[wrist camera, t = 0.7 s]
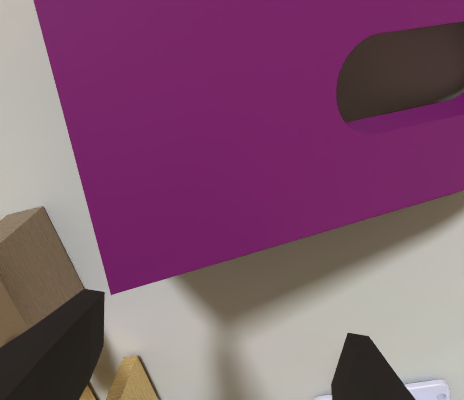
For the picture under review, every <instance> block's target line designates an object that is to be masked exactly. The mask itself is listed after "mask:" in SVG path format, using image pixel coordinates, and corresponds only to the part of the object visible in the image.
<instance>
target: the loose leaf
mask: <svg viewBox="0 0 464 400" xmlns="http://www.w3.org/2000/svg"><path fill="white" fill-rule="evenodd" d="M79 400H96V399H95V397H94V395H93V394H92V392H91V390H90V388H89V386H88V385H87V386H86V388H85V390H84V392H83V393H82V395H81V397H80V399H79ZM106 400H158V398H157V396H156V394H155V392H154V390H153V388H152V386H151V384H150V381H149V379H148V377H147V375H146V373H145V371H144V369H143V367H142V365H141V363H140V361H139V359H138V356H137V355H136V356H130V357H125V358H123V360H122V363H121V365H120V367H119V370H118V372H117V374H116V377H115V379H114V382H113V384H112V386H111V389H110V391H109V394H108V396H107V398H106Z"/></svg>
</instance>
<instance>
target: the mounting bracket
mask: <svg viewBox="0 0 464 400" xmlns="http://www.w3.org/2000/svg"><path fill="white" fill-rule="evenodd" d="M34 4H35V7H36V11H37V15H38V19H39V23H40V26H41V30H42V34H43V38H44V42H45V45H46V49H47V53H48V57H49V61H50V64H51V68H52V72H53V76H54V80H55V83H56V87H57V91H58V95H59V99H60V102H61V106H62V110H63V114H64V118H65V121H66V125H67V129H68V133H69V137H70V141H71V144H72V148H73V152H74V156H75V160H76V163H77V167H78V171H79V175H80V179H81V182H82V186H83V190H84V194H85V198H86V201H87V205H88V209H89V213H90V217H91V220H92V224H93V228H94V232H95V236H96V239H97V243H98V247H99V251H100V255H101V258H102V262H103V266H104V270H105V274H106V277H107V281H108V285H109V289H110V293H111V295H112V294H116V293H119V292H122V291H126V290H129V289H133V288H136V287H139V286H143V285H146V284H149V283H153V282H156V281H160V280H163V279H166V278H170V277H173V276H176V275H180V274H183V273H187V272H190V271H193V270H197V269H200V268H203V267H207V266H210V265H214V264H217V263H220V262H224V261H227V260H230V259H234V258H237V257H241V256H244V255H247V254H251V253H254V252H257V251H261V250H264V249H267V248H271V247H274V246H278V245H281V244H284V243H288V242H291V241H294V240H298V239H301V238H305V237H308V236H311V235H315V234H318V233H321V232H325V231H328V230H332V229H335V228H338V227H342V226H345V225H348V224H352V223H355V222H359V221H362V220H365V219H369V218H372V217H375V216H379V215H382V214H386V213H389V212H392V211H396V210H399V209H402V208H406V207H409V206H413V205H416V204H419V203H423V202H426V201H429V200H433V199H436V198H440V197H443V196H446V195H450V194H453V193H456V192H459V191H462V190H464V93H462V94H461V95H460V96H458V97H456V98H455V99H452V100H449V101H444V102H440V103H435V104H430V105H425V106H421V107H416V108H411V109H407V110H402V111H397V112H392V113H388V114H383V115H378V116H374V117H369V118H364V119H359V120H355V121H350V122H344V120H343V118H342V117H341V114H340V112H339V109H338V105H337V98H336V88H337V81H338V77H339V73H340V70H341V68H342V65H343V63H344V61H345V60H346V58H347V56H348V55H349V53H350V52H351V51H352V50H353V48H354V47H355V46H356V45H358V44H359V43H360V42H361V41H363V40H364V39H366V38H368V37H370V36H372V35H375V34H379V33H386V32H393V31H400V30H407V29H414V28H421V27H428V26H435V25H442V24H449V23H456V22H463V21H464V0H34Z"/></svg>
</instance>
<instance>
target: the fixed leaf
mask: <svg viewBox="0 0 464 400" xmlns="http://www.w3.org/2000/svg"><path fill="white" fill-rule="evenodd" d="M83 289H84V287H83V285H82V283H81V281H80V279H79V277H78V275H77V273H76V271H75V269H74V267H73V265H72V263H71V261H70V259H69V257H68V255H67V253H66V251H65V249H64V247H63V245H62V243H61V241H60V239H59V237H58V235H57V233H56V231H55V229H54V227H53V225H52V223H51V221H50V219H49V217H48V215H47V213H46V211H45V209H44V207H43V206H42V207H38V208H34V209H30V210H27V211H23V212H19V213H15V214H11V215H7V216H6V217H5V218H3V219H2V220H1V221H0V347H2V346H3V345H5V344H7V343H8V342H10V341H11V340H13V339H14V338H16V337H17V336H19V335H21V334H22V333H23V332H25V331H26V330H28V329H29V328H31V327H32V326H34V325H35V324H36V323H38V322H39V321H41V320H42V319H43V318H45V317H46V316H48V315H49V314H50V313H52V312H53V311H55V310H56V309H57V308H59V307H60V306H61V305H63V304H64V303H65V302H67V301H68V300H69V299H71V298H72V297H73V296H75V295H76V294H78V293H79V292H80V291H82V290H83Z"/></svg>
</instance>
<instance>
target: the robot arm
mask: <svg viewBox="0 0 464 400" xmlns="http://www.w3.org/2000/svg"><path fill="white" fill-rule="evenodd" d="M103 343H104V292H100V291H94V290H88V289H83V290H82V291H80V292H79V293H78V294H76V295H75V296H73V297H72V298H71V299H69V300H68V301H67V302H65V303H64V304H63V305H61V306H60V307H59V308H57V309H56V310H55V311H53V312H52V313H50V314H49V315H48V316H46V317H45V318H43V319H42V320H41V321H39V322H38V323H36V324H35V325H34V326H32V327H31V328H29V329H28V330H26V331H25V332H23V333H22V334H21V335H19V336H17V337H16V338H14V339H13V340H11V341H10V342H8V343H7V344H5V345H3V346H2V347H0V400H79V399H80V397H81V395H82V393H83V392H84V390H85V388H86V386H87V384H88V382H89V380H90V378H91V376H92V374H93V371H94V369H95V366H96V364H97V361H98V359H99V356H100V353H101V351H102V348H103ZM331 387H332V395H325V396H318V397H315V398H314V399H313V400H451V398H450V390H449V387H448V385H447V383H446V382H445V381H444V380H432V381H424V382H417V383H410V384H403V382H402V381H401V380H400V378H399V377H398V376H397V374H396V373H395V372H394V370H393V369H392V368H391V366H390V365H389V364H388V362H387V361H386V359H385V358H384V357H383V355H382V354H381V352H380V351H379V350H378V348H377V347H376V345H375V344H374V343H373V341H372V340H371V339H370V337H369V336H364V335H358V334H352V333H348V334H347V337H346V340H345V343H344V346H343V349H342V353H341V356H340V359H339V362H338V365H337V368H336V371H335V374H334V378H333V381H332V384H331ZM439 394H440V395H439Z"/></svg>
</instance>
